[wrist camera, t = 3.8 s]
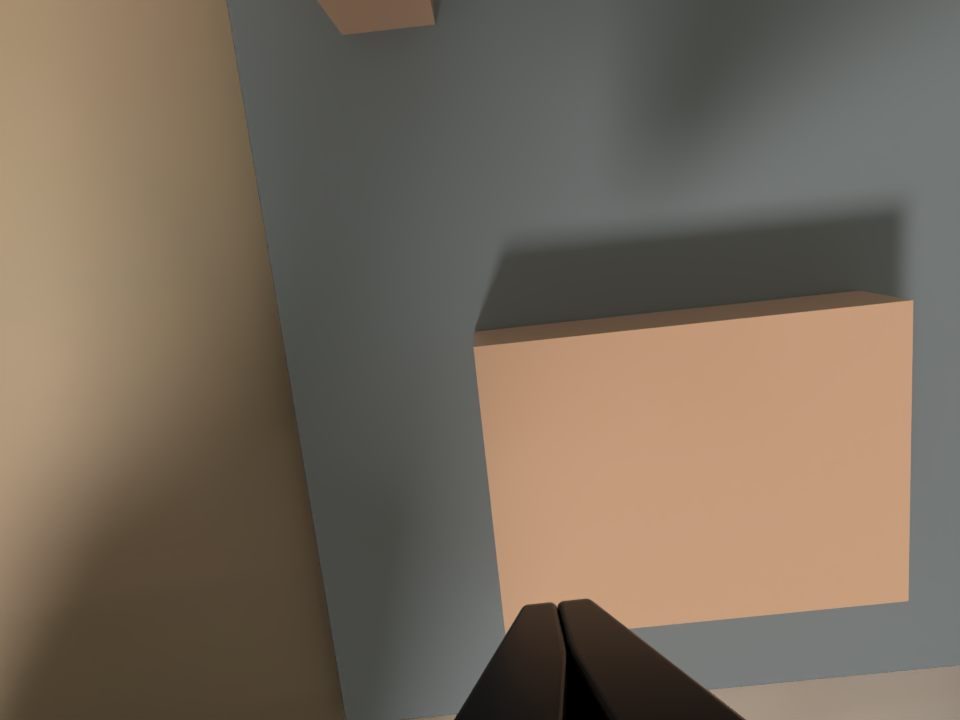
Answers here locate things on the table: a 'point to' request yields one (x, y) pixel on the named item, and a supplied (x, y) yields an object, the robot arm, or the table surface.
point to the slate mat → (587, 276)
